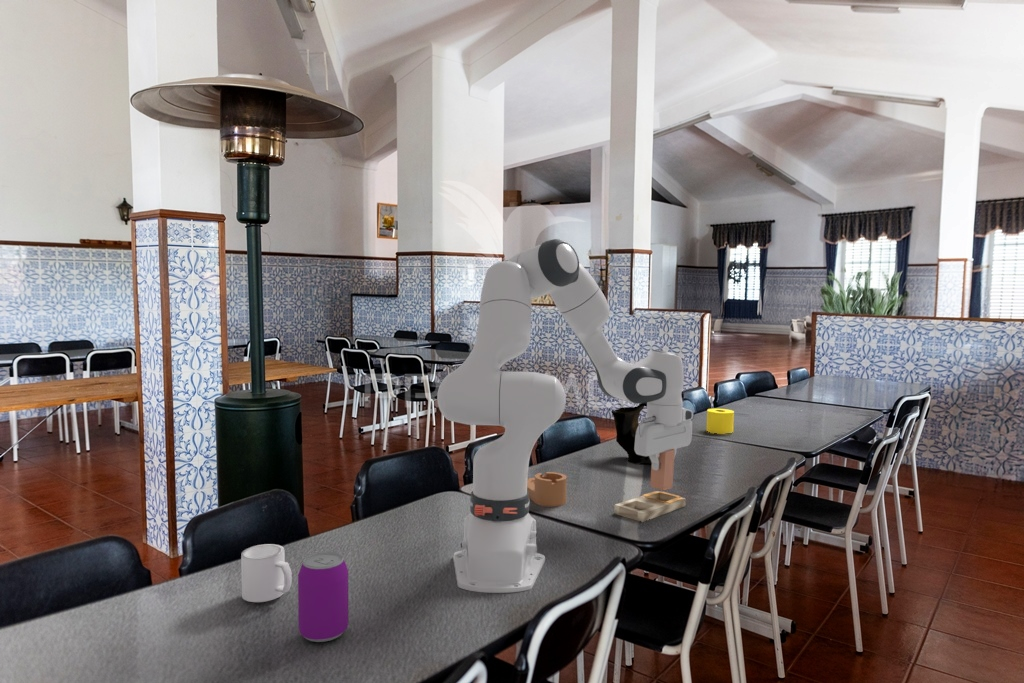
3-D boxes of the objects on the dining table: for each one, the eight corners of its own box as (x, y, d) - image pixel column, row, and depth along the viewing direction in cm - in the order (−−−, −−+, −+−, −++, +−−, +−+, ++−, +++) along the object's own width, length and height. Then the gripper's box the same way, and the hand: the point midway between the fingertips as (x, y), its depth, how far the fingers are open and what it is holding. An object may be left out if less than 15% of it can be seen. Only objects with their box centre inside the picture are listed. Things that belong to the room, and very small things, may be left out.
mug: (304, 590, 123) (303, 549, 122) (276, 607, 116) (276, 564, 115) (261, 581, 126) (261, 541, 126) (232, 597, 119) (231, 555, 119)
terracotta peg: (663, 490, 171) (665, 451, 170) (650, 486, 173) (652, 448, 172) (672, 487, 173) (674, 449, 172) (659, 483, 176) (661, 446, 175)
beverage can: (288, 638, 106) (287, 564, 105) (318, 616, 113) (318, 546, 112) (329, 648, 103) (328, 572, 102) (358, 625, 110) (357, 553, 109)
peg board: (642, 523, 161) (642, 512, 161) (614, 514, 167) (614, 503, 167) (685, 508, 173) (685, 497, 173) (657, 500, 179) (657, 490, 179)
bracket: (571, 505, 174) (571, 479, 174) (540, 508, 172) (541, 481, 171) (545, 486, 191) (546, 462, 191) (517, 488, 189) (518, 464, 188)
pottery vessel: (688, 467, 214) (691, 405, 212) (671, 473, 206) (673, 409, 204) (622, 453, 231) (624, 395, 229) (603, 459, 223) (605, 399, 221)
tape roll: (734, 433, 266) (735, 410, 266) (731, 438, 257) (732, 414, 257) (708, 431, 271) (709, 407, 270) (704, 435, 261) (705, 411, 261)
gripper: (650, 421, 162) (648, 477, 164) (697, 411, 176) (695, 463, 177) (629, 417, 167) (627, 472, 168) (676, 408, 181) (674, 459, 182)
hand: (662, 467), depth 173 cm, fingers closed on terracotta peg, 4 cm apart
